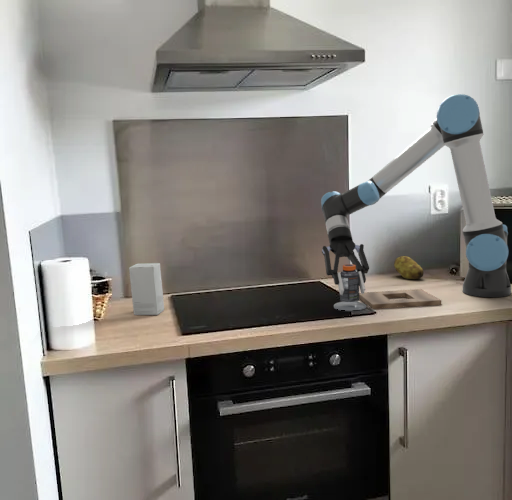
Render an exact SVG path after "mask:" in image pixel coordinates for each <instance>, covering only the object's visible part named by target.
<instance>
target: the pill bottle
mask: <svg viewBox="0 0 512 500" xmlns="http://www.w3.org/2000/svg"><path fill="white" fill-rule="evenodd" d="M340 274H341V279H342V283H343V288H344V292H343V295H340V294H339V299H340V300H339V301H340V302H360V299H359V293H360V286H359V273H358V272H357V270H356V265H354V264H352V263H351V264H350V263H348V264H343V265H342V271H340Z"/></svg>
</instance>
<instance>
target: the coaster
mask: <svg viewBox="0 0 512 500" xmlns="http://www.w3.org/2000/svg"><path fill="white" fill-rule="evenodd" d="M333 309H335V310H337V309H338V310H337V311H341V310H345V311H344V312H353V311H352V310H360V311H362V310H361V309H364V310H365V309H367V304H366V303H364V302H360V301H357V302H343V301H339V302H336V303H334V304H333Z"/></svg>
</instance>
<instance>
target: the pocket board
mask: <svg viewBox="0 0 512 500" xmlns="http://www.w3.org/2000/svg"><path fill="white" fill-rule="evenodd" d="M398 298H400V299H398ZM401 298H403V299H401ZM359 300H361V301H362V303H364V304H366V306H368V307H370V309H371V310H379V309H383V310H384V309H396V308H398V309H399V308H409V307H410V308H412V307H414V308H415V307H426V306H427V307H428V306H429V307H431V306H441V305H442V299H440V298H438V297H437V296H434V295H433V294H431V293H429V292H428V291H426V290H424V289H421V288H417V289H416V288H415V289H401V290H399V289H398V290H384V291H370V292H367V291H366V292H365V291H364V294H361V292H359Z"/></svg>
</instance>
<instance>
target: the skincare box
mask: <svg viewBox="0 0 512 500" xmlns="http://www.w3.org/2000/svg"><path fill="white" fill-rule="evenodd" d="M128 271H129V281H130V290H131V299H132V309H133V315H134V316H157V315H160V314H161V313H162V312H163V311H165V303H164V302H165V301H164V292H163V281H162V271H161V263H160V262H151V263H150V262H149V263H148V262H147V263H136V264H134V265H131V266H130V267H128Z"/></svg>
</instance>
